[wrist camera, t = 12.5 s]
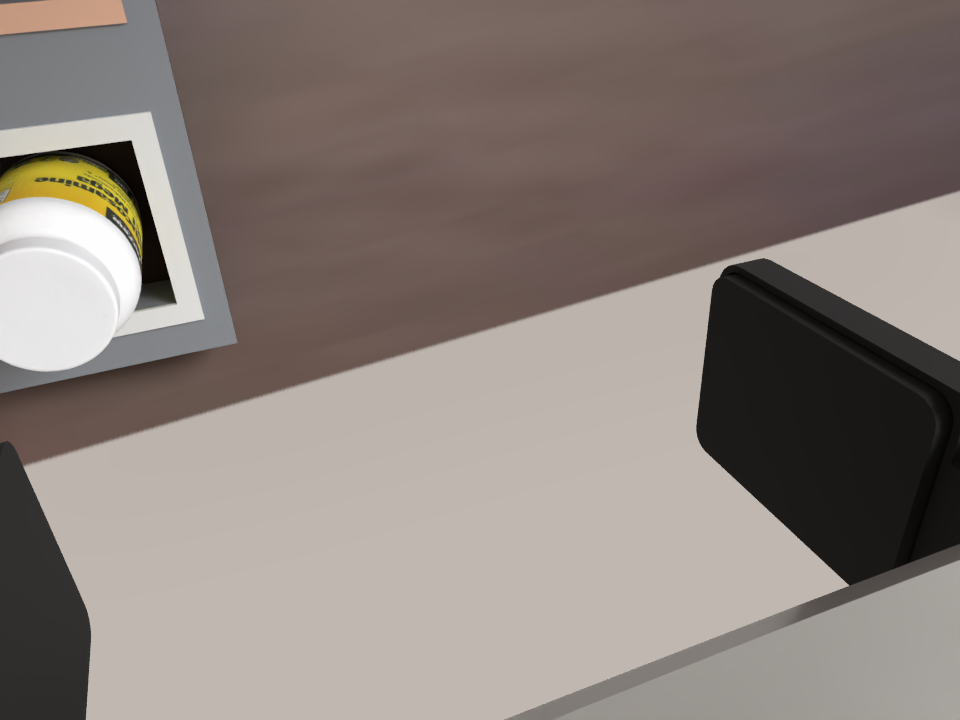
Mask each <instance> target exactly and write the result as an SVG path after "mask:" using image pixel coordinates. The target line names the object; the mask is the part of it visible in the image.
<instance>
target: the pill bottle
mask: <svg viewBox="0 0 960 720" xmlns="http://www.w3.org/2000/svg"><path fill="white" fill-rule="evenodd" d="M142 233H143V227H142V217H141V213H140V208H139V205H138V203H137V200H136V198H135V196H134V194H133V192H132V191H131V189H130V188H129V186H128V185H127V184H126V183H125V181H124V180H123V179H122V178H121V177H120V176H119V175H118V174H117V173H115V172H114V171H113V170H112V169H110V168H109V167H107V166H106V165H104V164H102V163H101V162H99V161H97V160H94V159H92V158H90V157H87V156H84V155H81V154H77V153H72V152H63V151H53V152H44V153H38V154H34V155H31V156H29V157H26V158H24V159H22V160H20V161H18V162H17V163H15V164H14V165H12V166H11V167H9V168H8V169H7V170H6V171H5V172H4V173H3V174H2V175H1V176H0V360H2V361H4V362H6V363H8V364H10V365H13V366H16V367H19V368H23V369H27V370H33V371H42V372H50V371H61V370H67V369H71V368H74V367H77V366H80V365H82V364H84V363H86V362H88V361H90V360H92V359H93V358H95V357H96V356H97V355H98V354H100V353H101V352H102V351H103V350H104V349H105V348H106V346H107V345H108V344H109V342H110V341H111V339H112V337H113V336H114V334H115V333H117V332H118V331H119V330H120V329H121V328H122V327H123V326H124V325H125V324H126V322H127V321H128V320H129V318H130V317H131V315H132V314H133V312H134V310H135V308H136V305H137V303H138V299H139V296H140V291H141V283H142Z"/></svg>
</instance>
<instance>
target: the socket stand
mask: <svg viewBox="0 0 960 720" xmlns="http://www.w3.org/2000/svg"><path fill="white" fill-rule="evenodd" d="M129 140H132V144H133V147H134V151H135V154H136V158H137V162H138V165H139V169H140V172H141V176H142V180H143V183H144V187H145V190H146V194H147V198H148V201H149V205H150V208H151V212H152V215H153V219H154V223H155V226H156V230H157V233H158V237H159V241H160V244H161V248H162V251H163V255H164V258H165V262H166V266H167V269H168V273H169V276H170V280H164V281H159V282H154V283H148V284H143V285H141V291H140V296H139V299H138V303H137V305H136V308H135V310H134V312H133V314H132V315H131V317H130V318H129V320H128V321H127V322H126V324H125V325H124V326H123V327H122V328H121V329H120V330H119V331H118V332H117V333H115V334H114V336H113V337H112V339H111V341H110V342H109V344H108V345H107V346H106V348H105V349H104V350H103V351H102V352H101V353H100V354H98V355H97V356H96V357H95V358H93V359H92V360H90V361H88V362H86V363H84V364H82V365H80V366H77V367H74V368H71V369H67V370H61V371H50V372H42V371H33V370H27V369H23V368H19V367H16V366H13V365H10V364H8V363H6V362H4V361H2V360H0V393H4V392H9V391H13V390H18V389H23V388H27V387H32V386H37V385H42V384H46V383H51V382H56V381H60V380H65V379H70V378H74V377H79V376H84V375H89V374H93V373H98V372H103V371H107V370H112V369H117V368H121V367H126V366H131V365H135V364H140V363H145V362H150V361H154V360H159V359H164V358H168V357H173V356H178V355H182V354H187V353H192V352H197V351H201V350H206V349H211V348H215V347H220V346H225V345H229V344H234V343H237V339H236V335H235V331H234V326H233V322H232V318H231V314H230V310H229V305H228V301H227V297H226V293H225V289H224V285H223V281H222V276H221V272H220V268H219V264H218V260H217V256H216V252H215V247H214V243H213V239H212V235H211V231H210V227H209V223H208V218H207V214H206V210H205V206H204V202H203V198H202V193H201V189H200V185H199V181H198V177H197V173H196V169H195V164H194V160H193V156H192V152H191V148H190V144H189V140H188V135H187V131H186V127H185V123H184V119H183V115H182V111H181V106H180V102H179V98H178V94H177V90H176V86H175V81H174V77H173V73H172V69H171V65H170V61H169V57H168V52H167V48H166V44H165V40H164V36H163V32H162V28H161V23H160V19H159V15H158V11H157V7H156V3H155V0H0V158H2V157H9V156H17V155H24V154H32V153H39V152H47V151H54V150H62V149H69V148H77V147H84V146H92V145H99V144H107V143H114V142H121V141H129Z"/></svg>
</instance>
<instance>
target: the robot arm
mask: <svg viewBox="0 0 960 720" xmlns="http://www.w3.org/2000/svg"><path fill="white" fill-rule="evenodd" d="M696 427H697V428H696V429H697V430H696V431H697V437H698V440H699V442H700V444H701V446H702V448H703V449H704V450H705V451H706V452H707V453H708V454H709V455H710V456H711V457H712V458H713V459H714V460H715V461H716V462H717V463H718V464H720V465H721V466H722V467H723V468H724V469H725V470H726V471H727V472H728V473H729V474H730V475H731V476H733V478H735V479H736V480H737V481H738V482H739V483H740V484H741V485H742V486H743V487H744V488H745V489H746V490H747V491H749V492H750V493H751V494H752V495H753V496H754V497H755V498H756V499H757V500H758V501H759V502H760V503H761V504H763V505H764V506H765V507H766V508H767V509H768V510H769V511H770V512H771V513H772V514H773V515H774V516H775V517H776V518H778V519H779V520H780V521H781V522H782V523H783V524H784V525H785V526H786V527H787V528H788V529H789V530H791V532H793V533H794V534H795V535H796V536H797V537H798V538H799V539H800V540H801V541H802V542H803V543H804V544H805V545H806V546H808V547H809V548H810V549H811V550H812V551H813V552H814V553H815V554H816V555H817V556H818V557H819V558H820V559H822V560H823V561H824V562H825V563H826V564H827V565H828V566H829V567H830V568H831V569H832V570H834V572H836V573H837V574H838V575H839V576H840V577H841V578H842V579H843V580H844V581H845V582H846V583H847V584H849V586H848V587H845V588H843V589H840V590H838V591H835V592H832V593H830V594H827V595H824V596H822V597H819V598H817V599H814V600H811V601H809V602H806V603H804V604H801V605H798V606H796V607H793V608H791V609H788V610H786V611H783V612H780V613H778V614H775V615H773V616H770V617H767V618H765V619H762V620H759V621H757V622H754V623H752V624H749V625H747V626H744V627H741V628H739V629H736V630H734V631H731V632H729V633H726V634H723V635H721V636H718V637H716V638H713V639H710V640H708V641H706V642H703V643H700V644H697V645H695V646H692V647H690V648H687V649H684V650H682V651H679V652H677V653H674V654H672V655H669V656H667V657H664V658H661V659H659V660H656V661H654V662H651V663H648V664H646V665H643V666H641V667H638V668H636V669H633V670H630V671H628V672H625V673H623V674H620V675H618V676H615V677H612V678H610V679H607V680H605V681H602V682H600V683H597V684H595V685H592V686H589V687H587V688H584V689H582V690H579V691H576V692H574V693H572V694H569V695H566V696H564V697H561V698H559V699H556V700H553V701H551V702H548V703H546V704H543V705H541V706H538V707H536V708H533V709H531V710H528V711H525V712H523V713H520V714H518V715H515V716H513V717H510V718H508V719H505V720H960V361H958V360H956V359H954V358H952V357H951V356H949V355H947V354H945V353H943V352H941V351H939V350H937V349H936V348H934V347H932V346H930V345H928V344H926V343H924V342H922V341H921V340H919V339H917V338H915V337H913V336H911V335H909V334H907V333H906V332H904V331H902V330H900V329H898V328H896V327H894V326H893V325H890V324H889V323H887V322H885V321H883V320H881V319H879V318H878V317H876V316H874V315H872V314H870V313H868V312H866V311H864V310H862V309H861V308H859V307H857V306H855V305H853V304H851V303H849V302H848V301H845V300H844V299H842V298H840V297H838V296H836V295H834V294H833V293H831V292H829V291H827V290H825V289H823V288H821V287H819V286H818V285H816V284H814V283H812V282H810V281H808V280H806V279H804V278H803V277H801V276H799V275H797V274H795V273H793V272H791V271H789V270H787V269H786V268H784V267H782V266H780V265H778V264H776V263H775V262H773V261H771V260H768V259H765V258H763V259H758V260H753V261H748V262H744V263H739V264H735V265H731V266H728V267H727V268H725V269H724V270H723V272H722V274H721V276H720V278H719V279H717V280H716V281H715V283H714V285H713V289H712V296H711V305H710V313H709V322H708V331H707V339H706V348H705V357H704V365H703V374H702V383H701V391H700V400H699V408H698V417H697V426H696ZM90 643H91V629H90V622H89V617H88V613H87V610H86V607H85V604H84V602H83V600H82V598H81V595H80V593H79V591H78V589H77V586H76V584H75V582H74V580H73V578H72V575H71V573H70V571H69V568H68V566H67V564H66V562H65V560H64V557H63V555H62V553H61V551H60V548H59V546H58V544H57V542H56V540H55V537H54V535H53V533H52V531H51V528H50V526H49V524H48V521H47V519H46V517H45V515H44V512H43V510H42V508H41V506H40V503H39V501H38V499H37V497H36V494H35V492H34V490H33V488H32V485H31V483H30V481H29V479H28V477H27V474H26V472H25V470H24V468H23V465H22V463H21V461H20V459H19V456H18V454H17V452H16V450H15V448H14V447H13V445H12V444H11V443H10V442H8V441H6V442H2V443H0V720H86V707H87V692H88V675H89V661H90V645H91V644H90Z"/></svg>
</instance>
